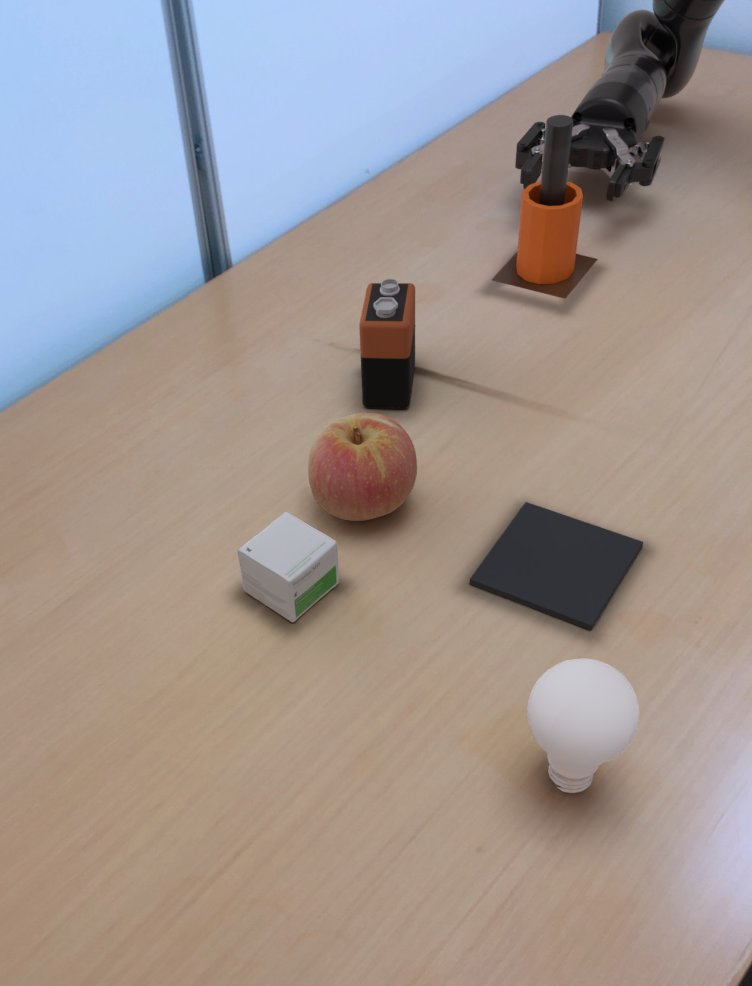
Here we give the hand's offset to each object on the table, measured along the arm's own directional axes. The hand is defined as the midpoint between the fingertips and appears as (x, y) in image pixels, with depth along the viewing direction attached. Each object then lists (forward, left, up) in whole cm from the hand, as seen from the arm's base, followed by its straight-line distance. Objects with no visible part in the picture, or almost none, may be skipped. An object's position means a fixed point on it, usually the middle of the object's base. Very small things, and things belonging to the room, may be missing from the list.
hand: (568, 186), depth 110 cm
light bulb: (-28, +61, -7) cm, 67 cm away
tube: (-1, +6, -6) cm, 8 cm away
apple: (-2, +44, -7) cm, 44 cm away
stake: (-1, +6, -7) cm, 9 cm away
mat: (-19, +43, -7) cm, 47 cm away
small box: (-2, +55, -7) cm, 55 cm away
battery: (+4, +29, -7) cm, 30 cm away
